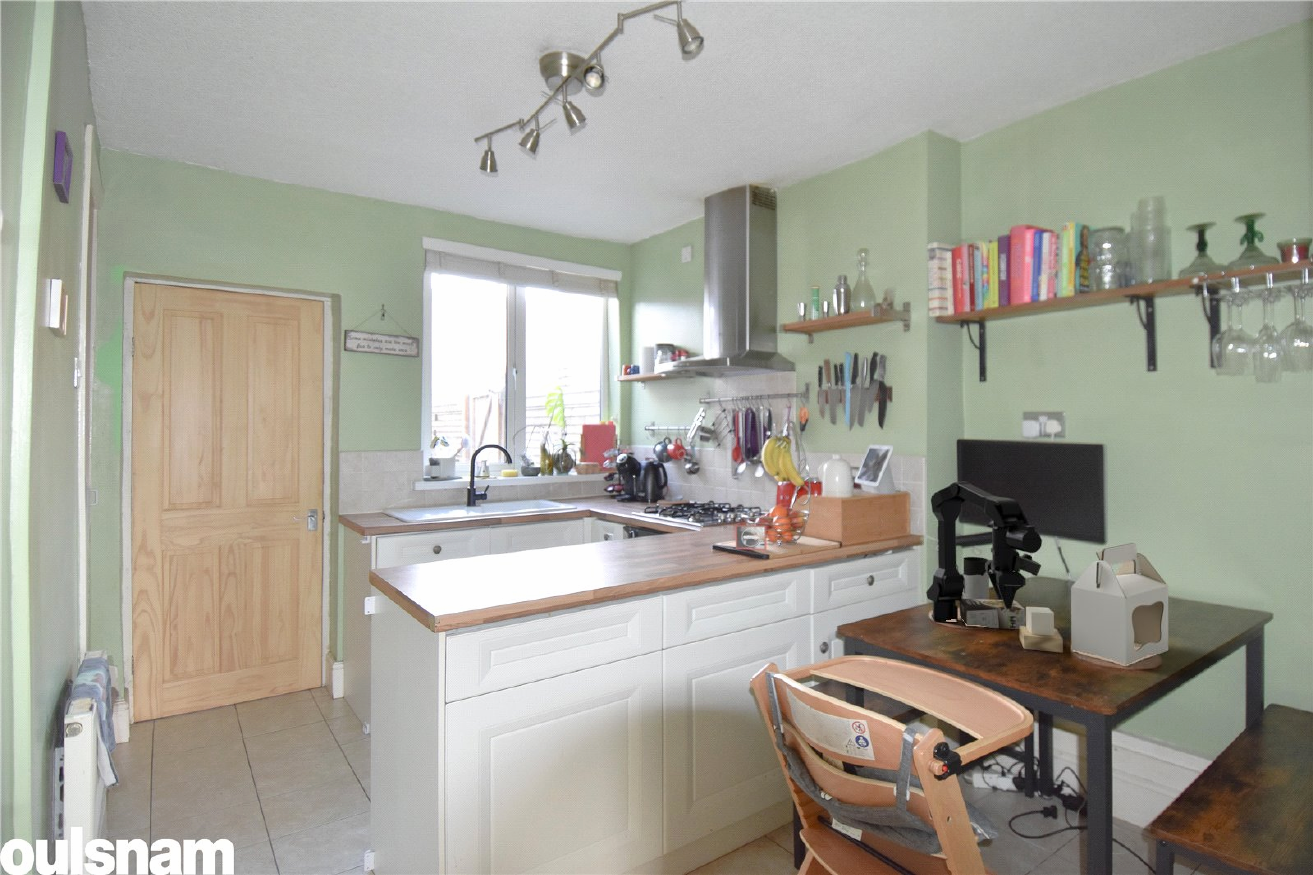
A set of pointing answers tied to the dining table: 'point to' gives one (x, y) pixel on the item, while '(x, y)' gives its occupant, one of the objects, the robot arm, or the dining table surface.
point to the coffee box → (992, 613)
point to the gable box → (1120, 607)
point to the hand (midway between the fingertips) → (1004, 604)
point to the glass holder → (975, 578)
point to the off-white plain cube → (1040, 621)
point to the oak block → (1041, 641)
